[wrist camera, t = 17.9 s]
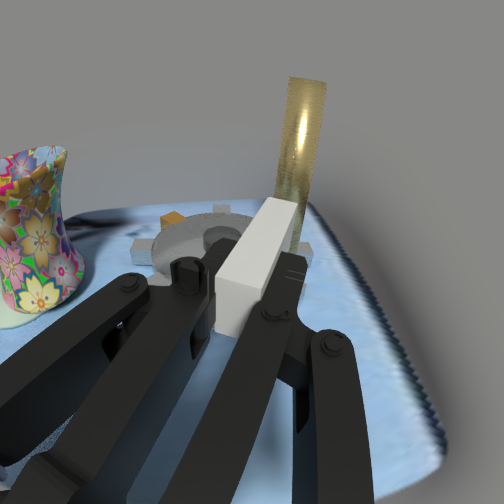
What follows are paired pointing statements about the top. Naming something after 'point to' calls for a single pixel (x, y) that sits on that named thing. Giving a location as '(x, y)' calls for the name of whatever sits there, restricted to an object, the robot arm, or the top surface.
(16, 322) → the pale green plate
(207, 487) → the robot arm
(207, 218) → the sprocket
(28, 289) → the mug
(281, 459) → the top surface
